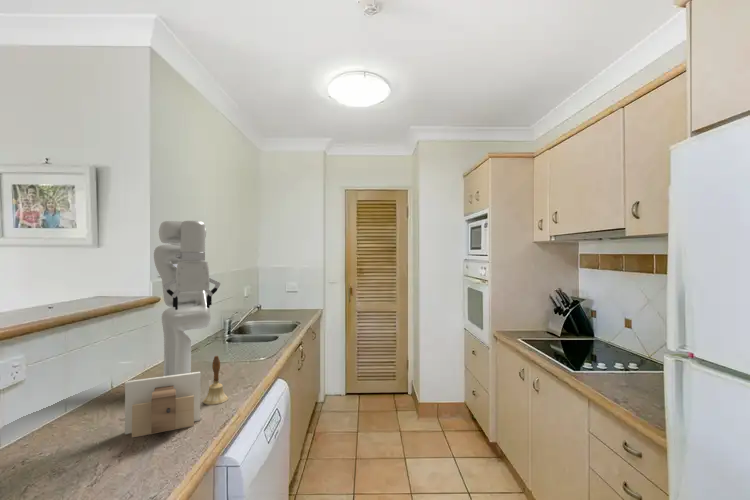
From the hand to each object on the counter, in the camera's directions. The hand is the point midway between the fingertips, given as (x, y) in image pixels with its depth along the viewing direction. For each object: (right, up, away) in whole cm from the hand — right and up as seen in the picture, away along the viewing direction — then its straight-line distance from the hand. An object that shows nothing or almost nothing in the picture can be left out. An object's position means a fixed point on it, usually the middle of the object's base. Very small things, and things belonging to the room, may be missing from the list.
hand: (192, 308), depth 128 cm
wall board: (-3, -34, -12) cm, 36 cm away
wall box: (0, -32, -17) cm, 36 cm away
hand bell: (+4, -35, +9) cm, 36 cm away
